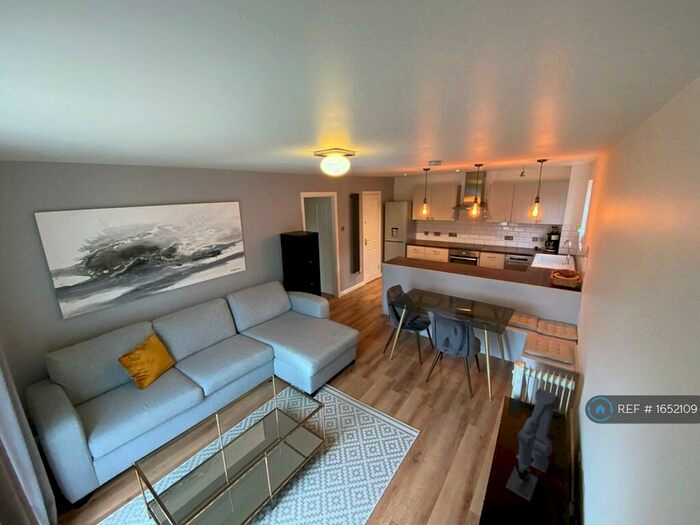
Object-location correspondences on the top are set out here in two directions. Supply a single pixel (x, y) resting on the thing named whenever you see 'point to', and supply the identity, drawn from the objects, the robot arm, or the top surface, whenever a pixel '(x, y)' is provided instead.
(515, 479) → the socket block
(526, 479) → the end plug
